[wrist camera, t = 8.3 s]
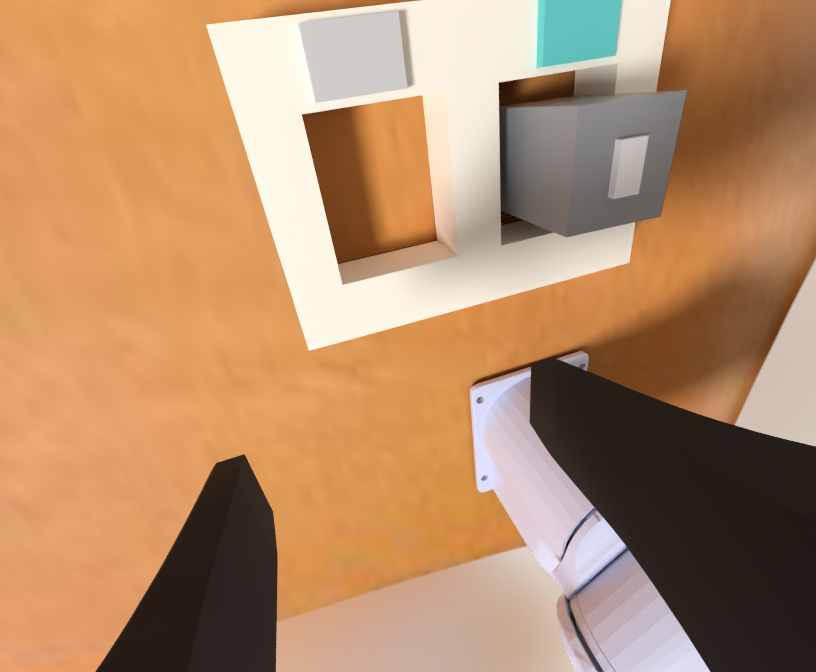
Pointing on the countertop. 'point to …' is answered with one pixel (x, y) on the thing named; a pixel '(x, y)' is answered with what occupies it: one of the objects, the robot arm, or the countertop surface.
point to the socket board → (446, 138)
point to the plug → (588, 159)
